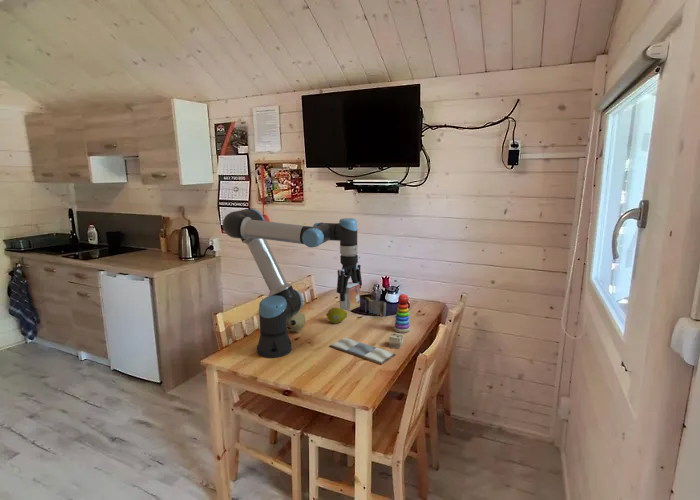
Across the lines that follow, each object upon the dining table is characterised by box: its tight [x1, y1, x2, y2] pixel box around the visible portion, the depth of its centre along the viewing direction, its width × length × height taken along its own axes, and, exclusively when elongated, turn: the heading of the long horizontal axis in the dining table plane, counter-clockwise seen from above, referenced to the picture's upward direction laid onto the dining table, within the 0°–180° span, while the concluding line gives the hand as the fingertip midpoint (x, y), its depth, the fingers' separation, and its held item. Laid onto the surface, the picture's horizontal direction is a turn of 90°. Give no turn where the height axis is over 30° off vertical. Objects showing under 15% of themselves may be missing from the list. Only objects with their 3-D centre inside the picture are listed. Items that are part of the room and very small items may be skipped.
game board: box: [329, 337, 397, 366], centre depth 183 cm, size 11×28×1 cm, turn 52°
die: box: [388, 332, 404, 350], centre depth 188 cm, size 5×5×5 cm
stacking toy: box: [393, 293, 411, 334], centre depth 204 cm, size 8×8×19 cm
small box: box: [339, 281, 361, 312], centre depth 182 cm, size 8×6×10 cm
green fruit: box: [326, 307, 348, 324], centre depth 215 cm, size 11×8×8 cm
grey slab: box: [364, 296, 387, 317], centre depth 227 cm, size 11×3×10 cm, turn 60°
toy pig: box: [287, 310, 306, 334], centre depth 203 cm, size 10×12×11 cm
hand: (350, 304), depth 183 cm, fingers closed on small box, 8 cm apart
